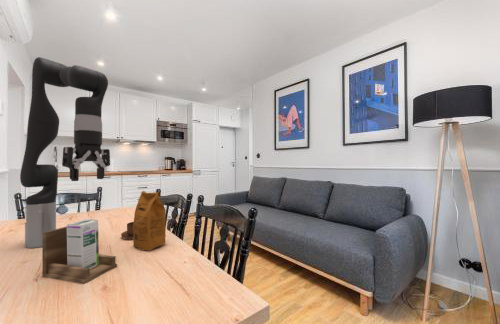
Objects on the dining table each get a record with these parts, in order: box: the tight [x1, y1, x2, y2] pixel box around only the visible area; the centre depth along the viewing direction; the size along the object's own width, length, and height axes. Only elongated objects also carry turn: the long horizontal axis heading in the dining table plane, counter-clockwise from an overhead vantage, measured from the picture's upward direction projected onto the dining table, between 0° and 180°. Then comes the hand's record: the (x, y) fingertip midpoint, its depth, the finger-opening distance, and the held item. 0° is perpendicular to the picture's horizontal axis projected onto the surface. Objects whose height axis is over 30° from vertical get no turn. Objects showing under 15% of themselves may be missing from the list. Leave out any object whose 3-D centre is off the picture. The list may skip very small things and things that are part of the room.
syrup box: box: [66, 219, 100, 269], centre depth 70 cm, size 6×6×14 cm
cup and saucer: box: [120, 221, 134, 240], centre depth 104 cm, size 12×12×6 cm
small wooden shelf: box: [41, 226, 118, 285], centre depth 70 cm, size 16×11×13 cm
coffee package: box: [132, 190, 167, 251], centre depth 92 cm, size 10×12×22 cm
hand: (88, 179), depth 74 cm, fingers open, 8 cm apart
